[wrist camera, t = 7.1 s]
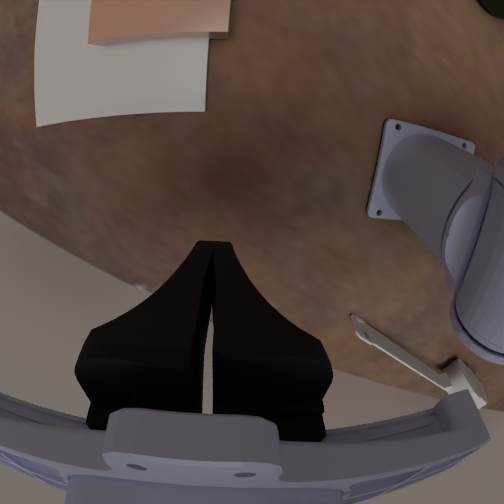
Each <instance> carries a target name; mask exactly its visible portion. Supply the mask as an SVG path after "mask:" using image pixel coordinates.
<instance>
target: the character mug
mask: <svg viewBox="0 0 504 504" xmlns="http://www.w3.org/2000/svg"><path fill="white" fill-rule="evenodd" d="M480 1H481V2H482V4H483V5H484V7H485V8H486V9H487V10H489V11H490V12H491V13H492V14H494V15H495V16H496V17H498V18H502V19H504V0H480Z"/></svg>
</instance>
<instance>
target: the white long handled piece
mask: <svg viewBox="0 0 504 504" xmlns="http://www.w3.org/2000/svg"><path fill="white" fill-rule="evenodd" d="M350 317H351V320H352V324H353V327H354V330H355V333H356V334H357V336H358V337H359V338H361V339H362V340H364V341H365V342H367V343H368V344H370V345H372V344H373V345H374V346H376V347H377V348H379V349H381V350H382V351H384V352H385V353H387V354H388V355H390V356H392V357H393V358H395V359H396V360H398V361H399V362H401V363H403V364H404V365H406V366H407V367H409V368H410V369H412V370H414V371H415V372H417V373H418V374H420V375H422V376H423V377H425V378H426V379H428V380H430V381H431V382H433V383H434V384H436V385H437V386H439V387H441V388H442V389H444V390H445V391H447V393H448V394H453V393H456V392H459V391H462V390H465V389H468V390H469V392H470V394H471V396H472V398H473V400H474V402H475V404H476V406H477V408H478V410H479V409H480V408H481V407H483V406H484V405H486V404H487V397H486V394H485V392H484V389H483V387H482V385H481V384H480V382H479V381H478V379H477V378H476V376H475V375H474V373H473V372H472V371H471V369H470V368H469V367H467V366H466V365H465V364H464V362H463V361H461V360H460V359H459V358H457V359H456V360H454V361H453V362H452V363H451V364H449V365H448V366H447V367H445V368H444V369H443V370H441V374H437V373H436V372H435V371H433V370H432V369H430V368H429V367H428V366H426V365H425V364H423V363H422V362H420V361H419V360H418V359H416V358H415V357H413V356H412V355H410V354H409V353H408V352H406V351H405V350H403V349H402V348H400V347H399V346H398V345H396V344H395V343H393V342H392V341H390V340H389V339H388V338H386V337H385V336H383V335H382V334H380V333H379V332H378V331H376V330H375V329H373V328H372V327H370V326H369V325H368V324H367V323H366V322H365V321H364V320H362V319H360V318H359V317H357V316H356V315H354V314H352V315H351V316H350ZM358 321H359V322H360V323H362V325H363V326H362V325H361V324H360V323H358ZM362 333H364V334H365V335H366V337H365V336H364V335H362Z"/></svg>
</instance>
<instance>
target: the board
mask: <svg viewBox="0 0 504 504" xmlns="http://www.w3.org/2000/svg"><path fill="white" fill-rule="evenodd" d="M91 1H92V0H39V8H38V16H37V26H36V38H35V60H34V88H35V111H36V124H37V127H38V126H43V125H49V124H55V123H61V122H67V121H74V120H81V119H88V118H96V117H105V116H115V115H127V114H141V113H161V112H205V111H206V90H207V71H208V54H209V39H210V38H197V39H172V40H158V41H147V42H138V43H130V44H122V45H116V46H109V47H105V46H98V45H90V44H88V33H89V20H90V10H91Z"/></svg>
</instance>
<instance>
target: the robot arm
mask: <svg viewBox="0 0 504 504" xmlns="http://www.w3.org/2000/svg"><path fill="white" fill-rule="evenodd" d="M396 124H398V125H399V127H398V129H396V128H395V126H396ZM463 143H464V144H463ZM462 144H463V147H462ZM474 151H475V145H474V143H472V142H470V141H467V140H464V139H461V138H458V137H455V136H452V135H449V134H446V133H443V132H440V131H436V130H433V129H430V128H426V127H423V126H419V125H415V124H411V123H408V122H404V121H400V120H396V119H387V120H386V121H385V125H384V130H383V136H382V142H381V147H380V152H379V157H378V162H377V167H376V172H375V176H374V181H373V185H372V190H371V194H370V198H369V203H368V207H367V214H368V216H369V217H371V218H380V219H392V220H403V221H404V222H405V223H406V224H407V225H408V226H409V227H410V228H411V229H412V231H413V232H414V233H415V234H416V235H417V236H418V237H419V238H420V239H421V240H422V242H423V243H424V244H425V245H426V246H427V247H428V248H429V249H430V251H431V252H432V253H433V254H434V255H435V256H436V258H437V259H438V260H439V261H440V262H441V264H442V265H443V266H444V267H445V268H446V271H447V276H446V280H445V283H446V284H447V286H448V287H449V288H450V290H451V291H452V292H453V294H454V297H453V299H452V302H451V305H450V311H449V313H450V320H451V324H452V326H453V329H454V331H455V333H456V334H457V336H458V337H459V339H460V340H461V341H462V342H463V344H464V345H465V346H466V347H467V348H468V349H469V350H470V351H472V352H473V353H474V354H476V355H477V356H479V357H481V358H482V359H484V360H487V361H489V362H492V363H497V364H501V365H504V158H503V159H501V160H497V161H496V162H495V163H494V166H493V165H492V164H490V163H488V162H486V161H484V160H483V159H481V158H479V157H477V156H475V155H474ZM378 210H380V212H379V213H378V214H376V212H377V211H378ZM211 307H212V310H213V325H214V334H213V349H212V351H213V353H212V354H213V414H202V401H203V369H204V368H203V367H204V352H205V344H206V338H207V331H208V325H209V319H210V313H211ZM75 376H76V378H77V380H78V382H79V384H80V385H81V387H82V389H83V390H84V392H85V393H86V395H87V397H88V398H89V400H90V401H91V403H90V407H89V411H88V415H87V419H86V418H81V417H78V416H73V415H69V414H66V413H62V412H58V411H54V410H51V409H47V408H44V407H41V406H37V405H34V404H31V403H28V402H25V401H22V400H19V399H17V398H14V397H11V396H8V395H5V394H3V393H0V462H2V463H4V464H5V465H7V466H9V467H12V468H13V469H15V470H17V471H19V472H21V473H23V474H26V475H28V476H30V477H32V478H34V479H37V480H39V481H41V482H43V483H46V484H48V485H51V486H54V487H56V488H58V489H61V490H64V491H66V492H67V493H66V500H65V504H353V503H357V502H361V501H364V500H368V499H371V498H374V497H377V496H380V495H384V494H387V493H390V492H392V491H395V490H398V489H401V488H403V487H406V486H409V485H412V484H414V483H417V482H419V481H421V480H424V479H427V478H429V477H431V476H434V475H436V474H438V473H441V472H443V471H445V470H447V469H450V468H452V467H454V466H455V465H457V464H458V463H460V462H461V461H463V460H464V459H465V458H467V457H469V456H470V455H471V454H473V453H474V452H476V451H477V450H479V449H480V448H481V447H483V446H484V445H485V444H486V443H488V442H489V441H490V439H491V438H490V436H489V433H488V431H487V428H486V426H485V424H484V422H483V419H482V417H481V415H480V413H479V411H478V408H477V406H476V404H475V402H474V400H473V398H472V396H471V394H470V392H469V390H468V389H465V390H462V391H459V392H456V393H453V394H449V395H447V396H445V397H444V398H442V399H441V400H440V401H439V402H438V403H437V404H436V405H435V407H434V408H432V409H429V410H425V411H422V412H418V413H414V414H410V415H406V416H402V417H397V418H393V419H388V420H384V421H379V422H374V423H369V424H363V425H357V426H351V427H344V428H337V429H329V430H325V426H324V421H323V416H322V414H323V412H324V405H323V401H322V399H323V397H324V396H325V394H326V392H327V390H328V388H329V386H330V384H331V383H332V379H333V371H332V367H331V363H330V360H329V358H328V356H327V353H326V351H325V349H324V347H323V345H322V343H321V341H320V340H319V339H317V338H315V337H314V336H312V335H310V334H308V333H307V332H305V331H303V330H302V329H300V328H299V327H297V326H296V325H294V324H293V323H292V322H290V321H289V320H287V319H286V318H285V317H284V316H283V315H281V314H280V313H279V312H278V311H277V310H276V309H275V308H273V307H272V306H271V305H270V304H269V303H268V302H267V300H266V299H265V298H264V297H263V296H262V295H261V294H260V293H259V291H258V290H257V289H256V287H255V286H254V285H253V283H252V282H251V281H250V279H249V278H248V276H247V275H246V273H245V271H244V270H243V268H242V266H241V264H240V263H239V261H238V259H237V257H236V254H235V252H234V249H233V246H232V244H231V243H230V242H219V241H198V242H197V243H196V244H195V246H194V247H193V249H192V251H191V252H190V253H189V255H188V256H187V258H186V259H185V260H184V261H183V263H182V264H181V265H180V267H179V268H178V269H177V270H176V271H175V272H174V273H173V275H172V276H171V277H170V278H169V279H168V280H167V281H166V282H165V283H164V284H163V285H162V286H161V287H160V288H159V289H158V290H157V291H155V292H154V293H153V294H152V295H151V296H149V297H148V298H147V299H146V300H145V301H143V302H142V303H140V304H139V305H138V306H136V307H135V308H133V309H131V310H130V311H128V312H126V313H125V314H123V315H121V316H119V317H118V318H116V319H114V320H112V321H110V322H108V323H105V324H103V325H101V326H99V327H97V328H94V329H92V330H91V332H90V333H89V335H88V337H87V339H86V340H85V342H84V345H83V347H82V349H81V352H80V355H79V357H78V360H77V362H76V366H75Z"/></svg>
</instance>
